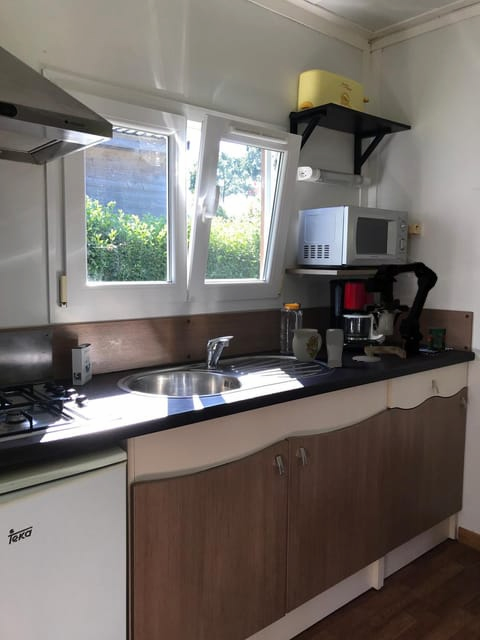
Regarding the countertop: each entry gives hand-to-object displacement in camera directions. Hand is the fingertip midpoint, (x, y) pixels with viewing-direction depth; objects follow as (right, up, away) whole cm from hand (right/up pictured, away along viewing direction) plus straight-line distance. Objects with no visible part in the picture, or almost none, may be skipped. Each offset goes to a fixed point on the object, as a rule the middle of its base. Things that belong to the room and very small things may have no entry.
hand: (385, 327), depth 246 cm
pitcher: (-36, -14, -9) cm, 40 cm away
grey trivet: (-10, -14, -8) cm, 19 cm away
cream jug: (0, -3, -1) cm, 3 cm away
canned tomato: (+29, -11, +16) cm, 35 cm away
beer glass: (-27, -16, -23) cm, 39 cm away
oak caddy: (0, -13, +1) cm, 13 cm away
